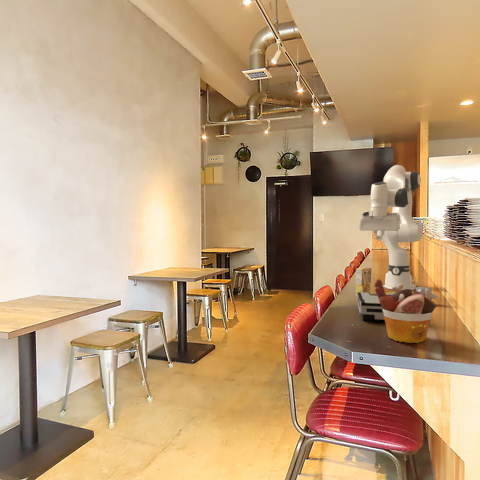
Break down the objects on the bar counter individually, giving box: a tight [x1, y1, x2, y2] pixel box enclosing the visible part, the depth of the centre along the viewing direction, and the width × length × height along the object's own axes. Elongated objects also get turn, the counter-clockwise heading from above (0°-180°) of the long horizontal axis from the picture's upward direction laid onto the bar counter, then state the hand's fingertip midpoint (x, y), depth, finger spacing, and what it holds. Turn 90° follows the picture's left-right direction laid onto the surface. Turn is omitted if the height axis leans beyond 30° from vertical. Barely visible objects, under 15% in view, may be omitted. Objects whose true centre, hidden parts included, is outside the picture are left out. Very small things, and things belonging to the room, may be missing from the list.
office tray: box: [356, 292, 393, 323], centre depth 169 cm, size 21×32×8 cm, turn 166°
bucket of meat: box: [374, 279, 439, 344], centre depth 133 cm, size 20×16×20 cm
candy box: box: [355, 266, 372, 298], centre depth 213 cm, size 9×4×15 cm, turn 129°
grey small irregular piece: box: [415, 286, 433, 301], centre depth 191 cm, size 7×7×8 cm
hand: (379, 239), depth 207 cm, fingers closed
